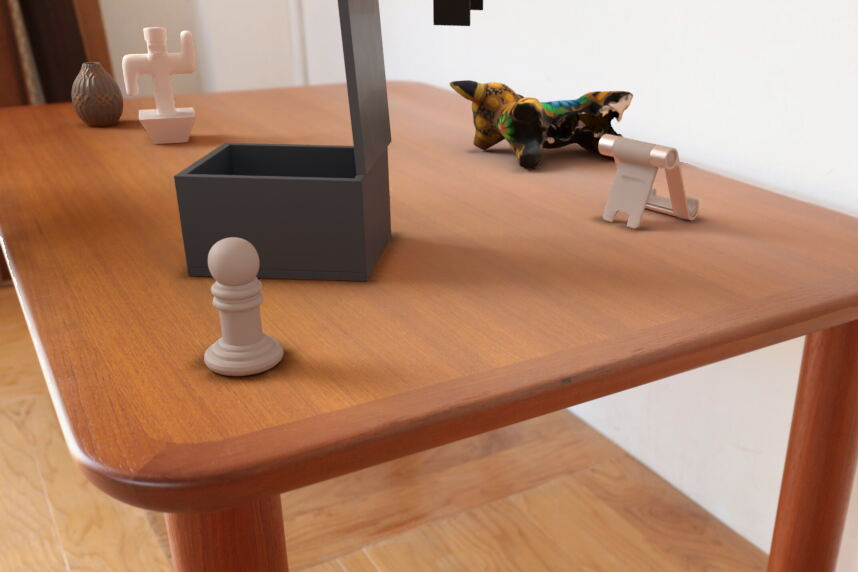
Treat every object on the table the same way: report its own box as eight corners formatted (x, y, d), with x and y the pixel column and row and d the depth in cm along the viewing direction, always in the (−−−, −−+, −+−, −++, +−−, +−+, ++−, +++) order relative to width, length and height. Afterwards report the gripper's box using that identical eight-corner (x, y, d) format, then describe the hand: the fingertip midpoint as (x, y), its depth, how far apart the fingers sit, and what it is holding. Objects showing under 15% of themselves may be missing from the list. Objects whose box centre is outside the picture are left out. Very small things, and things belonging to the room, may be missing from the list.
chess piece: (296, 366, 62) (284, 242, 58) (220, 385, 59) (202, 257, 55) (267, 339, 66) (254, 221, 62) (194, 356, 63) (176, 234, 59)
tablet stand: (697, 219, 95) (706, 140, 91) (652, 234, 90) (659, 151, 86) (633, 202, 100) (639, 126, 97) (587, 215, 95) (591, 136, 92)
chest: (188, 276, 77) (173, 175, 74) (235, 231, 89) (224, 142, 85) (367, 281, 77) (361, 180, 73) (391, 235, 88) (387, 146, 84)
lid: (332, -44, 66) (457, -48, 66) (365, -48, 77) (472, -52, 77) (356, 175, 73) (470, 172, 72) (383, 141, 84) (481, 139, 84)
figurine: (134, 136, 127) (116, 24, 120) (204, 132, 130) (190, 23, 123) (134, 147, 120) (114, 30, 114) (207, 143, 123) (192, 28, 117)
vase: (102, 130, 130) (91, 67, 126) (66, 126, 132) (54, 64, 128) (136, 121, 136) (127, 61, 132) (101, 117, 138) (90, 58, 134)
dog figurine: (625, 189, 120) (549, 151, 133) (652, 97, 116) (570, 67, 129) (505, 178, 109) (434, 138, 121) (529, 75, 104) (453, 45, 117)
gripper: (503, -342, 53) (497, 35, 62) (518, -262, 76) (512, 5, 85) (377, -344, 53) (389, 31, 62) (430, -264, 76) (433, 3, 85)
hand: (460, 17), depth 73 cm, fingers open, 13 cm apart
